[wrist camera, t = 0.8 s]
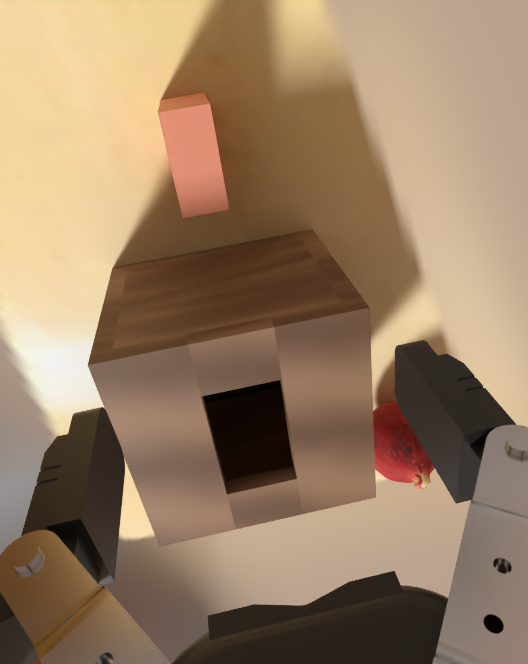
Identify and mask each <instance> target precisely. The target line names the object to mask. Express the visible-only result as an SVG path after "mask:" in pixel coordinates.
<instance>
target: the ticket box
mask: <svg viewBox="0 0 528 664" xmlns="http://www.w3.org/2000/svg"><path fill="white" fill-rule="evenodd" d="M88 367H89V369H90V372H91V374H92V377H93V379H94V382H95V385H96V387H97V390H98V392H99V395H100V397H101V400H102V402H103V405H104V407H105V410H106V411H107V414H108V416H109V418H110V421H111V423H112V426H113V428H114V431H115V433H116V435H117V438H118V440H119V443H120V445H121V448H122V451H123V455H124V458H125V460H126V463H127V465H128V468H129V470H130V473H131V475H132V478H133V480H134V483H135V486H136V488H137V491H138V493H139V496H140V498H141V501H142V503H143V506H144V508H145V511H146V513H147V516H148V518H149V521H150V523H151V526H152V528H153V531H154V534H155V536H156V538H157V541H158V543H159V546H165V545H169V544H174V543H178V542H182V541H187V540H191V539H196V538H200V537H204V536H208V535H213V534H217V533H222V532H226V531H230V530H235V529H239V528H244V527H248V526H253V525H256V524H261V523H265V522H270V521H274V520H278V519H283V518H288V517H292V516H296V515H300V514H305V513H309V512H313V511H318V510H323V509H327V508H331V507H336V506H340V505H344V504H348V503H353V502H357V501H362V500H366V499H371V498H375V497H376V483H375V455H374V427H373V398H372V370H371V342H370V313H369V307H368V305H367V304H366V303H365V301H364V300H363V298H362V297H361V296H360V294H359V293H358V292H357V290H356V289H355V288H354V286H353V285H352V283H351V282H350V281H349V279H348V278H347V277H346V275H345V274H344V272H343V271H342V270H341V268H340V267H339V266H338V264H337V263H336V261H335V260H334V259H333V257H332V256H331V255H330V253H329V252H328V251H327V249H326V248H325V246H324V245H323V244H322V242H321V241H320V240H319V238H318V237H317V235H316V234H315V233H314V231H313V230H310V231H304V232H299V233H294V234H289V235H284V236H278V237H273V238H268V239H263V240H258V241H253V242H247V243H242V244H237V245H232V246H227V247H221V248H216V249H211V250H206V251H201V252H195V253H190V254H185V255H180V256H175V257H169V258H164V259H159V260H154V261H149V262H143V263H138V264H133V265H128V266H123V267H118V268H112V272H111V276H110V280H109V284H108V288H107V292H106V296H105V300H104V304H103V308H102V311H101V315H100V319H99V323H98V327H97V331H96V335H95V339H94V343H93V347H92V351H91V355H90V359H89V363H88ZM277 380H280V382H281V387H279V388H275V389H270V390H265V391H260V392H256V393H251V394H246V395H241V396H237V397H232V398H227V399H223V400H218V401H213V402H208V403H205V401H204V397H203V396H206V395H211V394H215V393H220V392H225V391H230V390H234V389H239V388H244V387H249V386H253V385H258V384H263V383H268V382H272V381H277Z"/></svg>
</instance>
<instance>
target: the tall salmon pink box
mask: <svg viewBox="0 0 528 664" xmlns="http://www.w3.org/2000/svg"><path fill="white" fill-rule="evenodd" d="M158 115H159V119H160V123H161V128H162V132H163V136H164V140H165V145H166V149H167V153H168V158H169V162H170V166H171V171H172V175H173V179H174V184H175V188H176V192H177V196H178V201H179V205H180V209H181V214H182V218H188V217H193V216H198V215H204V214H209V213H215V212H220V211H225V210H229V205H228V200H227V194H226V189H225V183H224V178H223V172H222V167H221V161H220V155H219V150H218V144H217V139H216V133H215V128H214V122H213V117H212V111H211V106H210V102H209V101H208V99H207V97H206V95H205V93H204V92H203V93H197V94H191V95H185V96H180V97H174V98H168V99H162V100H160V105H159V110H158Z"/></svg>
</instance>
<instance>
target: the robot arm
mask: <svg viewBox="0 0 528 664" xmlns="http://www.w3.org/2000/svg"><path fill="white" fill-rule="evenodd" d="M395 394H396V399H397V402H398V405H399V408H400V410H401V412H402V413H403V415H404V417H405V419H406V420H407V422H408V424H409V425H410V427H411V429H412V430H413V432H414V434H415V435H416V437H417V439H418V440H419V442H420V444H421V445H422V447H423V449H424V450H425V452H426V454H427V456H428V457H429V459H430V461H431V462H432V464H433V466H434V467H435V469H436V471H437V472H438V474H439V475H440V477H441V479H442V481H443V482H444V484H445V486H446V487H447V489H448V491H449V492H450V494H451V496H452V497H453V499H454V501H455V502H456V503H460V502H464V501H468V500H471V502H470V507H469V511H468V515H467V519H466V523H465V528H464V532H463V536H462V541H461V545H460V549H459V554H458V559H457V563H456V567H455V571H454V576H453V580H452V585H451V589H450V593H449V598H447V597H445V596H443V595H440V594H438V593H435V592H433V591H430V590H426V589H422V588H418V587H411V586H401V585H400V583H399V581H398V578H397V576H396V573H395V571H392V572H388V573H384V574H380V575H376V576H371V577H367V578H363V579H359V580H355V581H351V582H348V583H346V584H344V585H343V586H341V587H339V588H337V589H335V590H334V591H332V592H330V593H328V594H326V595H325V596H322V597H321V598H319V599H317V600H315V601H313V602H312V603H309V604H307V605H304V606H292V605H291V606H290V605H250V606H247V607H242V608H238V609H234V610H230V611H225V612H221V613H217V614H213V615H209V616H208V627H209V632H207V633H205V634H204V635H202V636H201V637H199V638H198V639H196V640H195V641H194V642H192V643H191V644H190V645H188V646H187V647H186V648H185V649H184V650H183V651H182V652H181V653H180V654H179V655H178V656H177V657H176V658H175V659H174V660H173V662H172V663H171V664H528V427H525V426H520V425H516V424H515V422H514V421H513V420H512V419H511V418H510V417H509V415H508V414H507V413H506V412H505V411H504V410H503V408H502V407H501V406H500V405H499V404H498V403H497V401H496V400H495V399H494V398H493V397H492V396H491V394H490V393H489V392H488V391H487V390H486V389H485V388H483V385H482V384H481V383H480V382H479V381H478V379H477V378H475V377H474V375H473V374H472V372H471V371H470V370H469V369H468V368H467V367H466V365H465V364H464V363H462V362H461V361H459V360H457V359H455V358H453V357H452V356H450V355H448V354H444V355H439V356H437V354H436V353H435V352H434V351H433V349H432V348H431V347H430V346H429V344H428V343H427V342H426V341H424V340H421V341H417V342H412V343H407V344H402V345H398V346H396V349H395ZM40 470H41V472H39V476H38V479H37V486H35V489H34V493H33V496H32V500H31V503H30V507H29V510H28V514H27V517H26V521H25V525H24V528H23V531H22V535H21V537H19V538H18V539H16V540H14V541H13V542H12V543H11V544H10V545H8V547H6V549H4V551H3V552H2V553H1V555H0V664H29V663H30V662H32V661H34V660H35V659H37V658H40V660H41V661H42V663H43V664H170V662H169V661H168V660H167V659H166V658H165V656H164V655H163V654H162V653H161V652H160V651H159V649H158V648H157V647H156V646H155V645H154V644H153V642H152V641H151V640H150V639H149V638H148V637H147V635H146V634H145V633H144V632H143V631H142V629H141V628H140V627H139V626H138V625H137V624H136V622H135V621H134V620H133V619H132V618H131V617H130V615H129V614H128V613H127V612H126V611H125V609H124V608H123V607H122V606H121V605H120V604H119V603H118V601H117V600H116V599H115V598H114V597H113V595H112V594H111V593H110V592H109V591H108V590H107V589H106V588H105V587H104V586H103V587H102V588H101V587H100V586H99V585H102V584H106V583H111V582H114V579H115V568H116V558H117V548H118V537H119V527H120V517H121V506H122V496H123V485H124V475H125V461H124V455H123V451H122V448H121V445H120V443H119V440H118V438H117V435H116V433H115V431H114V428H113V426H112V423H111V421H110V418H109V416H108V414H107V411H106V410H105V409H104V408H103V407H101V408H97V409H92V410H87V411H82V412H78V413H74V415H73V417H72V421H71V425H70V429H69V433H68V434H67V435H62V436H57V437H56V439H55V440H54V441H53V443H52V444H51V445H50V447H49V448H48V449H47V451H46V452H45V454H44V458H43V461H42V465H41V468H40Z"/></svg>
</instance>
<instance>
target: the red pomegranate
mask: <svg viewBox="0 0 528 664" xmlns="http://www.w3.org/2000/svg"><path fill="white" fill-rule="evenodd" d="M373 427H374V455H375V469H376V470H377V471H378V472H379V473H381V474H382V475H383V476H384V477H386V478H388V479H390V480H393V481H397V482H404V483H411V482H414V483H415V484H414V485H415V487H417V488H426V487H427V485H428V484H429V483H430V478H429V476H430V473H431V472H432V471H433V470H434V468H435V467H434V466H433V464H432V462H431V461H430V459H429V457H428V456H427V454H426V452H425V450H424V449H423V447H422V445H421V444H420V442H419V440H418V439H417V437H416V435H415V434H414V432H413V430H412V429H411V427H410V425H409V424H408V422H407V420H406V419H405V417H404V415H403V413H402V412H401V410H400V408H399V405H398V402H397V401H391V402H388V403H385V404H383V405H380V406H379V407H378V408H376V409H375V410H374V411H373Z"/></svg>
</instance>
